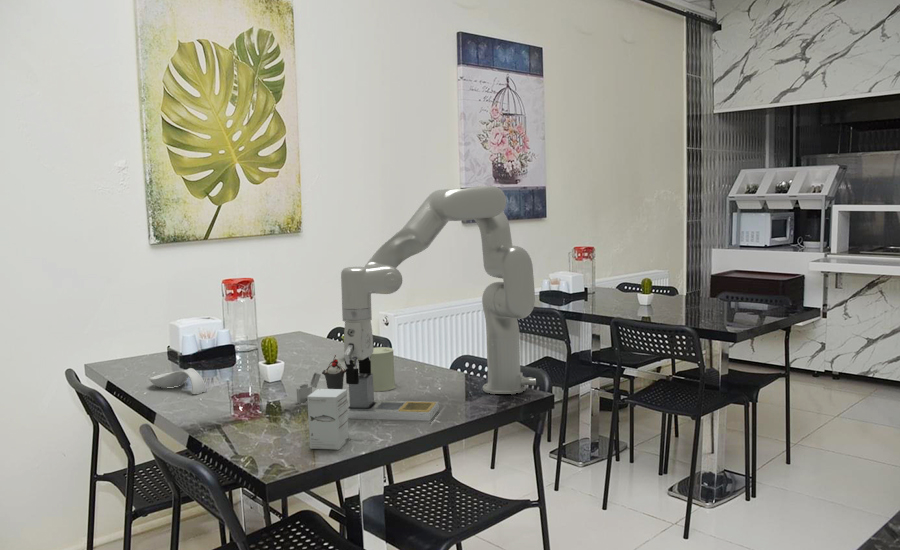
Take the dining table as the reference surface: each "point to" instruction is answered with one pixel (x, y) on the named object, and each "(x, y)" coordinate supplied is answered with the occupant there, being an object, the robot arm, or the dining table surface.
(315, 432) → the supplement box
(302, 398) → the lighter
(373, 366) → the can
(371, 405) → the gray rectangular block
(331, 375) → the sundae
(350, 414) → the gray compartment tray
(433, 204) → the robot arm
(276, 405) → the dining table surface
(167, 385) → the spoon rest
